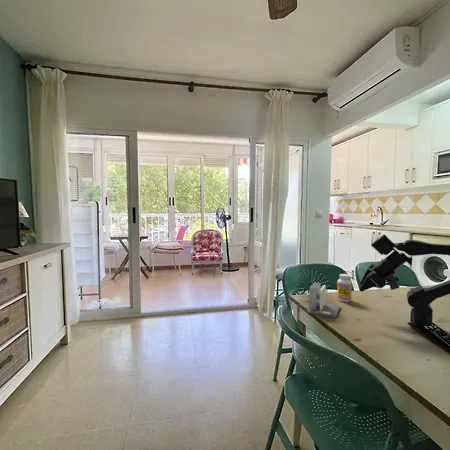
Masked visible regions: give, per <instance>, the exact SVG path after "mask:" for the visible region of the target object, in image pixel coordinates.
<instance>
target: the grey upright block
mask: <svg viewBox="0 0 450 450" xmlns="http://www.w3.org/2000/svg"><path fill="white" fill-rule="evenodd" d="M326 286H327V285H326V284H323V285H321V289H320V294H318V299H320V310H319V312H321V310H323V308H324V306H325V304H326V302H327V300H326V297H327V296H326V295H327V287H326ZM306 298H309V292H306Z"/></svg>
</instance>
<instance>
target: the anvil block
mask: <svg viewBox="0 0 450 450" xmlns="http://www.w3.org/2000/svg"><path fill="white" fill-rule="evenodd" d="M321 284H322V283H321V282H313V283H312V284H311V285H310V286H309V291H308V293H309V297H308V299H309V307H308V309H309V310H315V311H316V310H317V309H318V307H319V305H320V299H318V294H320V289H321V288H322V285H321Z"/></svg>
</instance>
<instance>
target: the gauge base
mask: <svg viewBox="0 0 450 450" xmlns="http://www.w3.org/2000/svg"><path fill="white" fill-rule="evenodd" d="M340 309H341V305H339V304H332V303H326V304H325V306H324V308H323V310H321V312H319V310H320V305H319V307H318V309H317V310H316V311H315V310H309V308H307V310H306V313H307V314H310V315H311V314H312V315H316V316H323V317H328V318H333V319H337V316H338V314H339V311H340Z"/></svg>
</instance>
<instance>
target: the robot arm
mask: <svg viewBox="0 0 450 450" xmlns="http://www.w3.org/2000/svg"><path fill="white" fill-rule="evenodd" d="M370 247H372V248H373V250H375V251H376V252H377V253H378V254H380V255H381V256H383V255H384V256H386V257H385V258H382V259H381V260H380V262H378V263H377V264H376V263H371V264H369V265H368V267H367V268H366V271H365V272H364V274H363V276H362V279H361V280H360V282H359V284H360V285H361V286H360V288H359V289H358V290H359V291H360V292H364V291H367V290H369V289H372V288H377V289H383V288H385V287H386V282H387V283H388V285H389V289H390V290H391V291H393V290H396V289H397V290H398V289H400V288H401V287H400V285H399V281H400V279H399V277H398V276H397V275H394V274H396V271H397V270H398V269H399V268H400V267H402V266H403V265H404V264H405V263H407V264H408V265H410V266H412V265H413V257H412V256H424V255H425V256H427V255H440V256H443V255H444V256H450V244H443V243H431V242H426V241H422V240H416V239H411V238H410V239H406V240H404V241H403V242H396V243H394V242H393V241H392V240H391V239H390V238H389V237H388V236H387V235H386V234H385V233H384V234H383V235H381V236H380V237H379V238H377V239H375V240H374V241H373V242H372V243H371V244H370ZM399 251H400V252H399ZM407 255H408V256H407ZM409 256H411V257H409ZM449 295H450V279H449V280H447V281H443V282H442V283H439V284H436V285H433V286H429V287H423V286H422V285H421V284H420V285H418V286H416V287H413V288H412V287H410V290H408V291H407V292H406V296H405V297H406V300H407V303H408V305H409V306H410V307H411V311H410V321H408V322H407V324H408V325H410V326H412V327H414V328H416V329H418V330H420V331H425V330H424V329H423V328H422V326H433V315H434V314H433V312H434V309H433V308H432V306H431V304H432V303H433V302H434V301H436V300H437V299H439V298H442V297H446V296H449Z"/></svg>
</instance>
